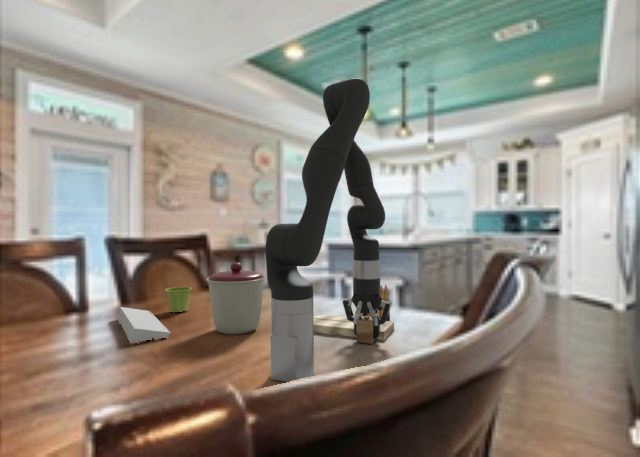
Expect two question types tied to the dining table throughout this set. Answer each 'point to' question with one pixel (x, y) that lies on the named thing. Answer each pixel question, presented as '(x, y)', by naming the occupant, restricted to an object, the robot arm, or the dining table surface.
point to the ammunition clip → (380, 310)
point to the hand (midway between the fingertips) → (367, 337)
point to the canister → (236, 299)
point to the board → (345, 326)
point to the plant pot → (178, 298)
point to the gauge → (365, 330)
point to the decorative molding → (141, 325)
